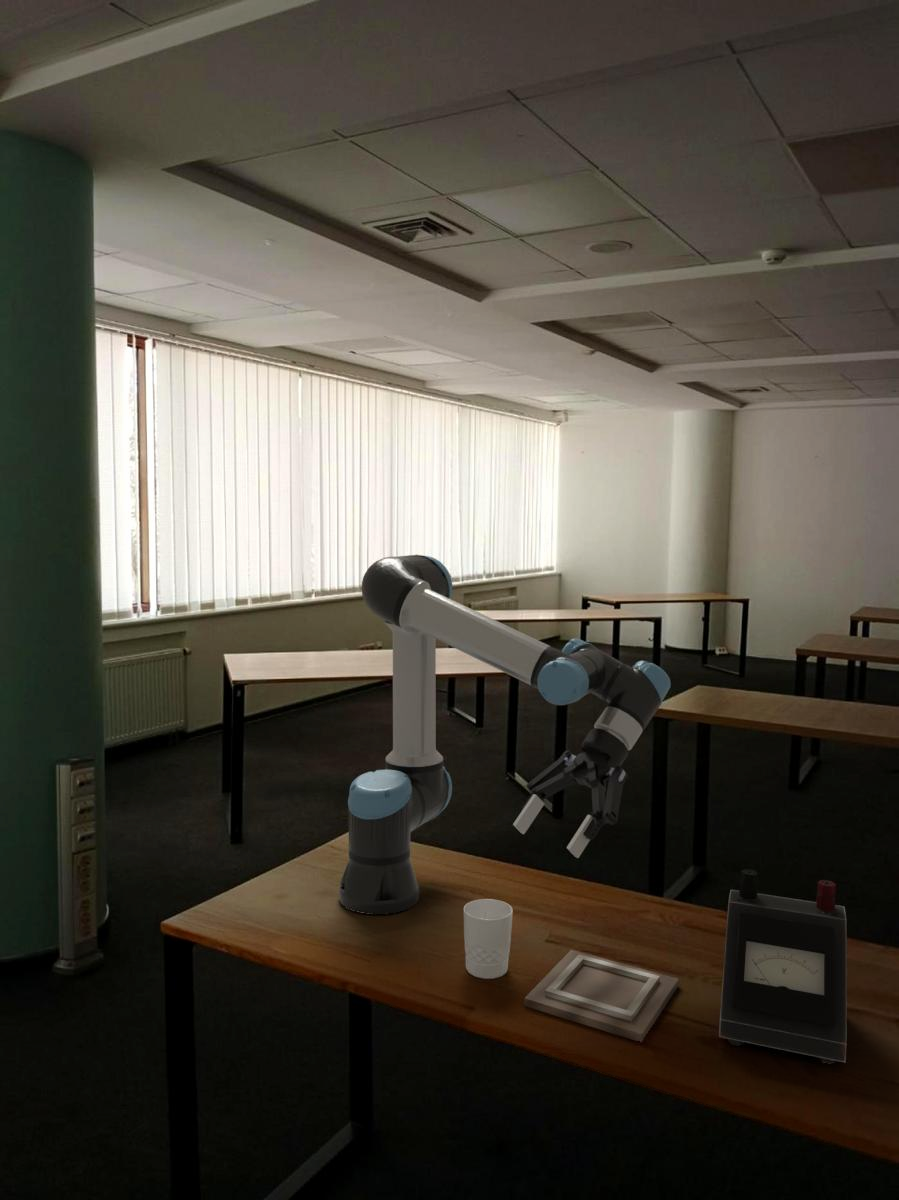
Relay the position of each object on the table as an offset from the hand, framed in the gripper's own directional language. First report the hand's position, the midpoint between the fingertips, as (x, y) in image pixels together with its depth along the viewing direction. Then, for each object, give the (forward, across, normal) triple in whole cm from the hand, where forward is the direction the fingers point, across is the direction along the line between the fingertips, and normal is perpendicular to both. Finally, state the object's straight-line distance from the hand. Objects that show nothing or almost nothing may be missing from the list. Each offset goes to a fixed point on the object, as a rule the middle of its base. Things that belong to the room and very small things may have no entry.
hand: (544, 841), depth 151 cm
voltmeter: (+4, -36, -24) cm, 44 cm away
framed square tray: (+15, -16, -13) cm, 25 cm away
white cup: (+22, +1, -6) cm, 22 cm away
